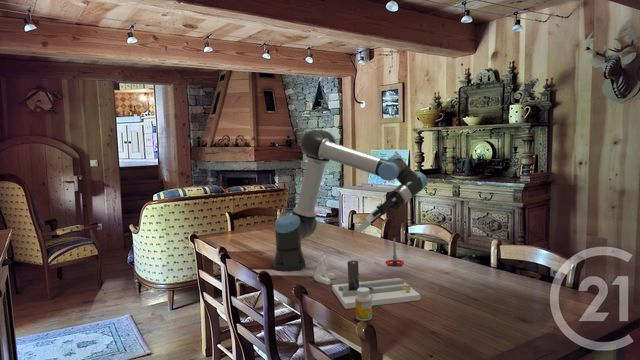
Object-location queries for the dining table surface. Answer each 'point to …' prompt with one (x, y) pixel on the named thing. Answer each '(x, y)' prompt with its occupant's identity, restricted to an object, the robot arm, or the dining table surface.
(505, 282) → the dining table surface
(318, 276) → the white creature statuette
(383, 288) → the rail board
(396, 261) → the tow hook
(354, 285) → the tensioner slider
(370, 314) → the supplement bottle
